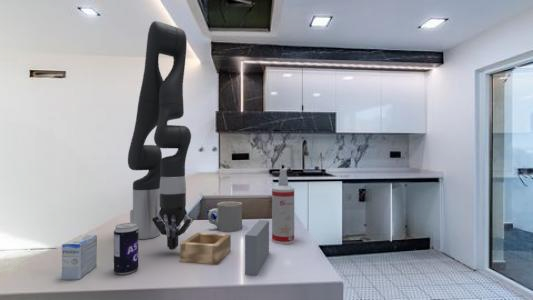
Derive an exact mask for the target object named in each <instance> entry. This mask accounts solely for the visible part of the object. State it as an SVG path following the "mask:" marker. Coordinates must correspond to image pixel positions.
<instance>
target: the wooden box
mask: <svg viewBox="0 0 533 300" xmlns="http://www.w3.org/2000/svg"><path fill="white" fill-rule="evenodd" d="M231 244H232V242H231V234H230V233H229V234H226V233H225V234H224V233H212V232H211V233H208V232H196V233H194V234H193V235H191V236H190V237H188V238H187V239H185V240H184V241H182V242H181V243H180V246H179V249H180V250H179V253H180V254H179V257H180V259H179V260H180V261H179V262H181V263H182V262H183V263H191V264H192V263H195V264H196V263H197V264H206V265H217V266H218V265H219V264H220V263H221V262H222V261H223V259H225V258H226V256H227V255H228V254H229V253H230V252H231V251H232V250H231V248H232V247H231V246H232V245H231Z"/></svg>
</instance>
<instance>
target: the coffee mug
mask: <svg viewBox="0 0 533 300" xmlns="http://www.w3.org/2000/svg"><path fill="white" fill-rule="evenodd" d="M216 207H217V208H211V209H210V210H209V211H208V214H207V215H208V216H207V219H208V222H209V223H210V224H212V225H215V226H216V230H217V231H219V232H223V233H235V232H238V231H241V230H242V229H243V203H242V202H241V201H240V202H239V201H221V202H218V203H217V204H216ZM213 214H216V218H215V219H213V218H212V215H213Z"/></svg>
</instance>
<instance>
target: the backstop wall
mask: <svg viewBox="0 0 533 300" xmlns="http://www.w3.org/2000/svg"><path fill="white" fill-rule="evenodd" d="M269 254H270V220H265V219H259V220H258V221H257V222H256V223H255V224H254V225H253V226H252V227H251V228H250V229H249V231H248V232H247V233H246V234H245V235H244V260H245V261H244V275H245V276H255V277H256V276H258V275H259V273H260V271H261V269H262V267H263V266H264V263H265V262H266V260H267V258H268V256H269Z"/></svg>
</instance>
